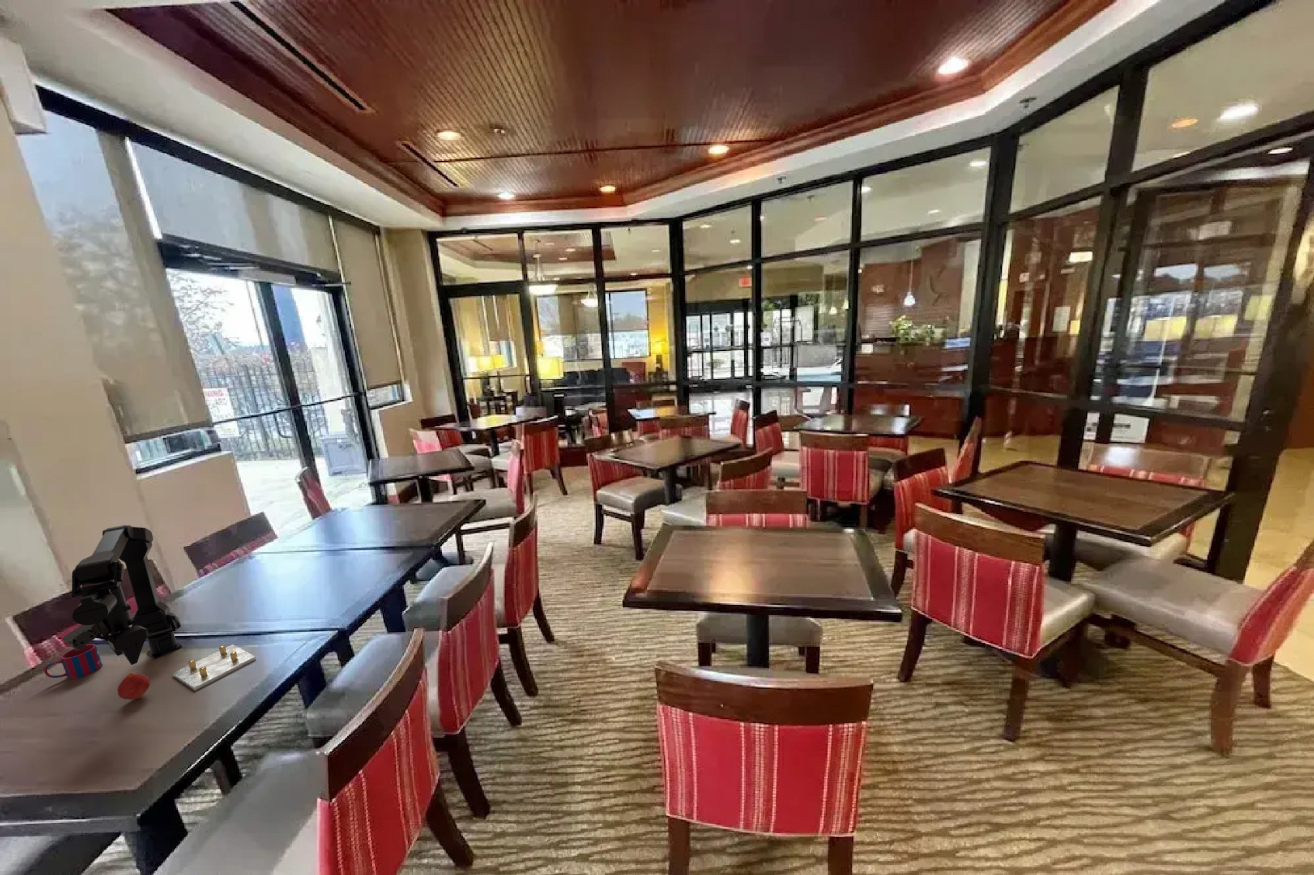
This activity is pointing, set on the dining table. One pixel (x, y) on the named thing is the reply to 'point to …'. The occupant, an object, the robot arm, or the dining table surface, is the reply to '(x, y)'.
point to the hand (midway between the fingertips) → (127, 659)
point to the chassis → (213, 666)
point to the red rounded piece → (133, 686)
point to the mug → (78, 662)
